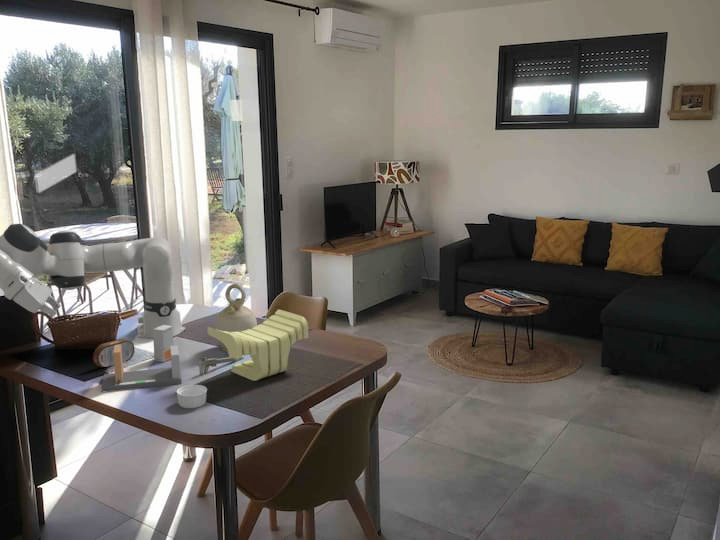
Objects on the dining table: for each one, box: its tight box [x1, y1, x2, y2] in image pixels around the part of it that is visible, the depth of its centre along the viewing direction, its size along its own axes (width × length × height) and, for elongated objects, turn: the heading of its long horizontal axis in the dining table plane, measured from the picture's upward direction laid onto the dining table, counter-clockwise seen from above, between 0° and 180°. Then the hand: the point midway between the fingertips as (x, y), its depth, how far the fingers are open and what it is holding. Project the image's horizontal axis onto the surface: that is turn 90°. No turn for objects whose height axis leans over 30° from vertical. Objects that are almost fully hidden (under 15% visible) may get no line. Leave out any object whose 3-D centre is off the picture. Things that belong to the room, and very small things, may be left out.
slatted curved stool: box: [207, 308, 309, 382], centre depth 211 cm, size 30×16×18 cm, turn 137°
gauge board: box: [101, 344, 182, 393], centre depth 203 cm, size 24×12×10 cm, turn 108°
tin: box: [92, 338, 135, 368], centre depth 218 cm, size 15×3×8 cm, turn 145°
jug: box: [215, 283, 258, 353], centre depth 234 cm, size 15×16×25 cm
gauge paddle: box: [113, 344, 124, 384], centre depth 199 cm, size 2×10×10 cm, turn 18°
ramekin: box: [176, 384, 208, 409], centre depth 186 cm, size 9×9×4 cm
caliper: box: [198, 356, 244, 376], centre depth 217 cm, size 20×1×6 cm, turn 147°
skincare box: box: [152, 325, 174, 363], centre depth 223 cm, size 6×4×12 cm
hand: (57, 311), depth 191 cm, fingers open, 6 cm apart
